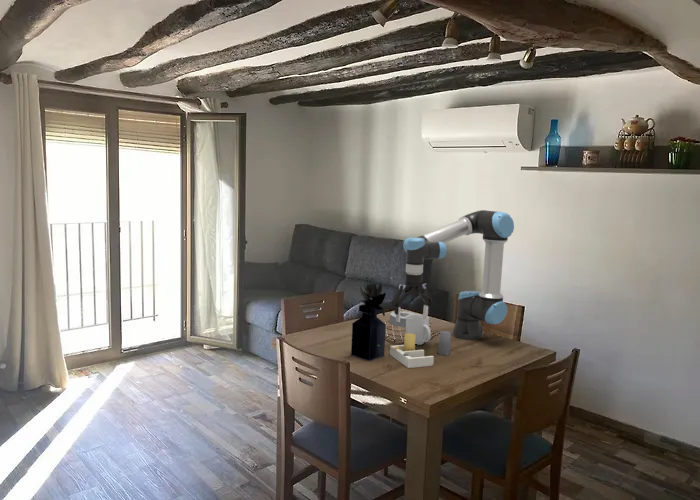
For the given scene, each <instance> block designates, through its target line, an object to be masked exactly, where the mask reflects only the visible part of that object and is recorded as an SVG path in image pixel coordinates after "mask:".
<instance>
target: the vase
mask: <svg viewBox="0 0 700 500" xmlns="http://www.w3.org/2000/svg"><path fill="white" fill-rule="evenodd" d="M365 279H366V282H368V283H367V284H363V286H364V287H363V288H364V290H365V291H364V290H363V288H362V286H361V285H360V287H359V292H360V294H361V297H362V298H363V299H362V300H361V299H359V301H360V302H361V303H363V304H361V305H358V311H359V312H360V313H362V314H361V316H360V317H359V318H358V319H356V320H355V321H354V322H352V324H351V329H352V330H351V349H350V351H351V352H350V355H351V356H352V357H356V358H359V359H362V360H365V361H367V362H371V361H374V360H377V359H380V358H382V357H385V348H386V347H385V346H386V328H387V326H386V325H387V324H386V323H385V322H384V321H382V320H381V319H380V318H379V317H378V316H377V315H378V313H380V314H382V316H383V317H385V315H386V312H385V309H384V307H383V305H382V304H383V302H384V300H385V298H386V296H387V292H384V293H382V292H383V284H382V282H381V281H379V283H378V286H377V283H375V280H374V279H373V277H371V278H370V279H371V280H372V281H373V283H372V281H371V280H369V278H368V277H366V278H365Z"/></svg>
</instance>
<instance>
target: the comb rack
mask: <svg viewBox="0 0 700 500" xmlns="http://www.w3.org/2000/svg"><path fill="white" fill-rule="evenodd" d="M389 348H390V349H389V355H390V356H391V357H393V359H395V360H396V361H398V362H399V363H401V365H404V366H405V367H406V368H407V369H413V368H423V367H434V363H435V362H434V360H435V356H434V355H428V356H426V355H425V350H424V349H417V350H416V349H415V350H413V351H404V344H396V345H390V347H389Z"/></svg>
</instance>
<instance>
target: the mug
mask: <svg viewBox="0 0 700 500" xmlns="http://www.w3.org/2000/svg"><path fill="white" fill-rule="evenodd" d="M406 333H412V334H415V335H416V342H415V344H417V345H416V346H423V344H425V343H427V342H430V340H431V338H432V331H431V328H430V317H429V316H428V318H427V320H424V319H423V314H419V313H418V314H417V313H415V314H410V315H407V316H406V327H405V334H406Z"/></svg>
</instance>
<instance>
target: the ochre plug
mask: <svg viewBox="0 0 700 500" xmlns="http://www.w3.org/2000/svg"><path fill="white" fill-rule="evenodd" d="M403 339H404V340H403V341H404V342H403V345H404V351H413V350H416V345H415V342H416V335H415V334H412V333H406V332H405V333H404V338H403Z"/></svg>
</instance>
